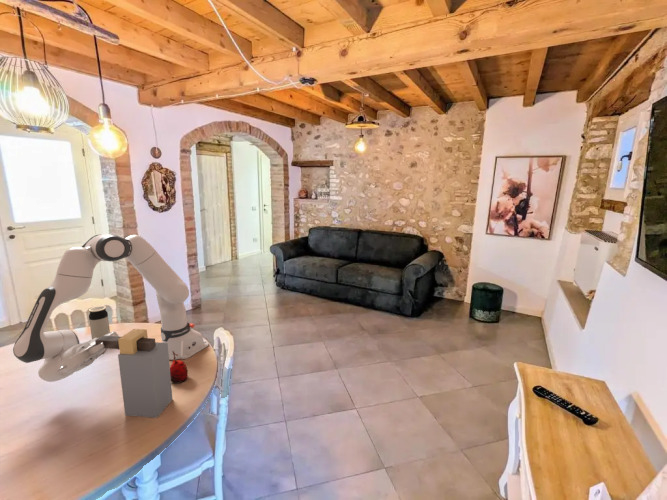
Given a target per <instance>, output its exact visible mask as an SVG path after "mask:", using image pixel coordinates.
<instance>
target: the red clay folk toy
mask: <svg viewBox="0 0 667 500" xmlns="http://www.w3.org/2000/svg"><path fill="white" fill-rule="evenodd" d="M172 352H173V351H172ZM172 355H174V360H172V362H171V365H170V376H171V384H172V383H173V384H175V383H176V384H177V383H182V382H185V381H186V380H188V377H189V375H188V374H189V373H188V371H189V370H188V368H187V364H186V363H185V361H183V360H181V359H175V358H176V357H175V355H176V356H178V354H175V353H174V352H173V354H172Z"/></svg>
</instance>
